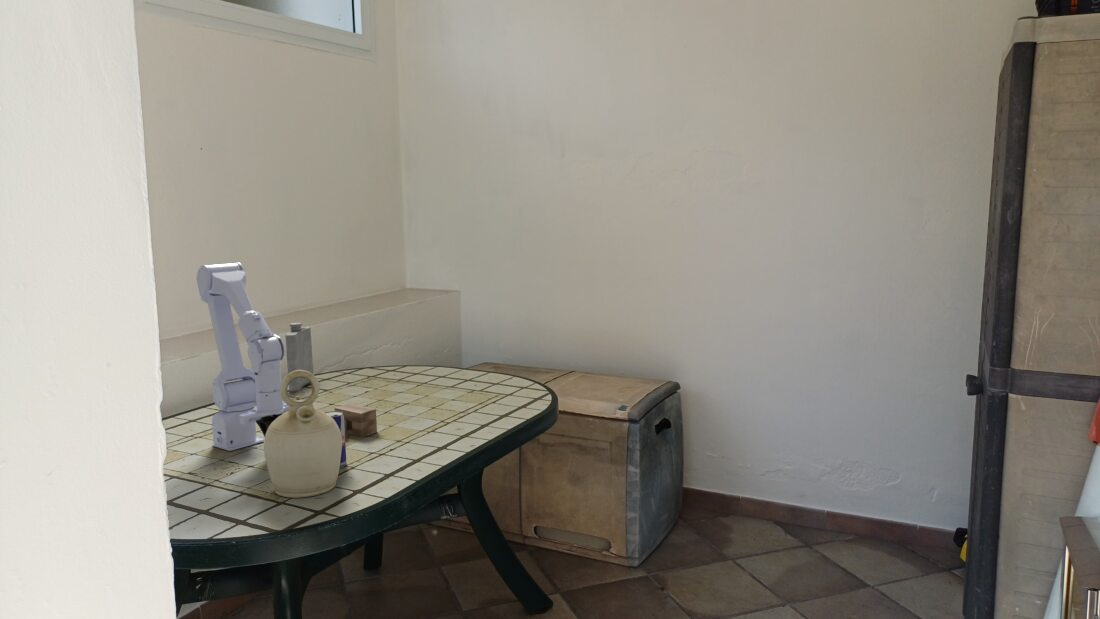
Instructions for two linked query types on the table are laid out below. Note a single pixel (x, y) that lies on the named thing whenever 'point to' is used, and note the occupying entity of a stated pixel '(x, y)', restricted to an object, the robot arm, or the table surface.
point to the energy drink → (340, 422)
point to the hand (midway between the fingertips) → (272, 447)
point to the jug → (302, 445)
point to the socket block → (359, 419)
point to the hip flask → (299, 353)
